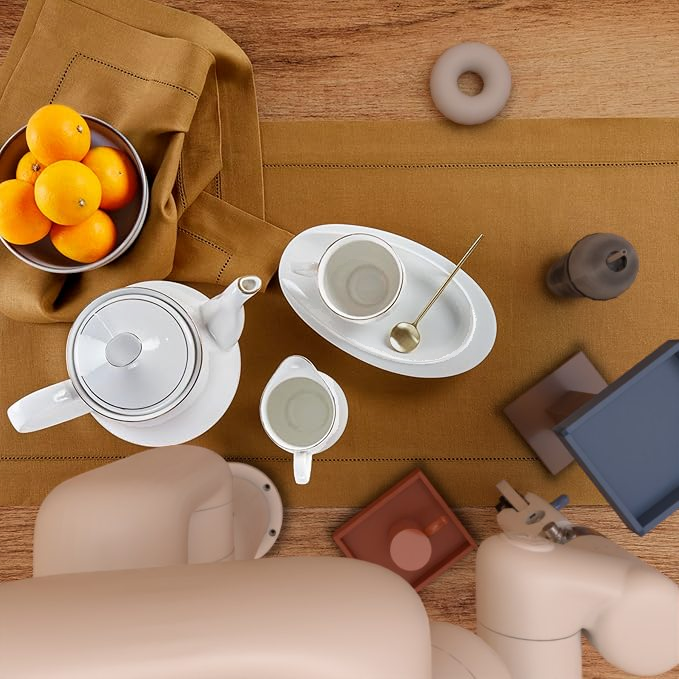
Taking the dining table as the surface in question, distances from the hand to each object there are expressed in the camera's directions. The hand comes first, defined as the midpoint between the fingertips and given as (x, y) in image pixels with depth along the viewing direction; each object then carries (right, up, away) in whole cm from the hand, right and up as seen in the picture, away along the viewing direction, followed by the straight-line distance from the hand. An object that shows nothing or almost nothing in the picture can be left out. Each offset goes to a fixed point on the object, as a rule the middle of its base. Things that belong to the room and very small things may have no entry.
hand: (521, 519), depth 75 cm
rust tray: (-13, -3, +4) cm, 14 cm away
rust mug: (-12, -2, +4) cm, 12 cm away
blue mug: (+1, +1, 0) cm, 2 cm away
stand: (+7, +12, +4) cm, 14 cm away
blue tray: (+6, +12, -18) cm, 22 cm away
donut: (-5, +52, +6) cm, 53 cm away
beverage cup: (+7, +28, +5) cm, 30 cm away
